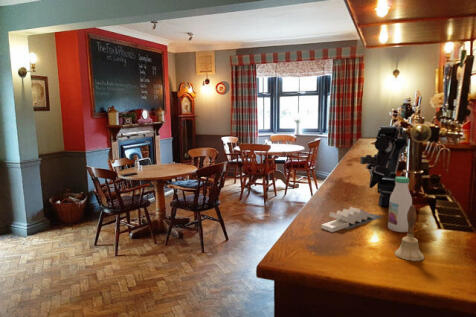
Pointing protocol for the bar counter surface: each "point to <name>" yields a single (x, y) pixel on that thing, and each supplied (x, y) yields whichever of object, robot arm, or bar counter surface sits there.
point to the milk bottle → (399, 205)
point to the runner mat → (363, 221)
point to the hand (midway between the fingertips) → (370, 187)
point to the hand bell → (410, 240)
